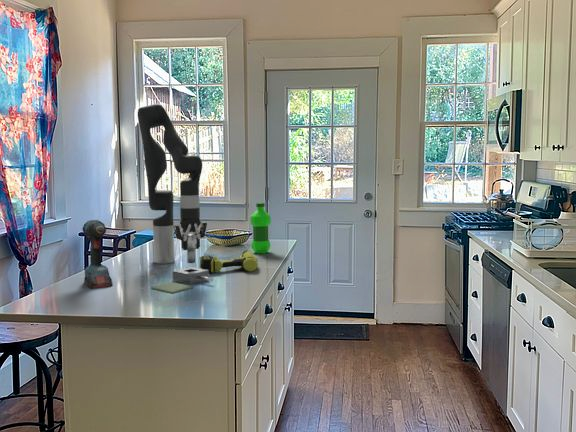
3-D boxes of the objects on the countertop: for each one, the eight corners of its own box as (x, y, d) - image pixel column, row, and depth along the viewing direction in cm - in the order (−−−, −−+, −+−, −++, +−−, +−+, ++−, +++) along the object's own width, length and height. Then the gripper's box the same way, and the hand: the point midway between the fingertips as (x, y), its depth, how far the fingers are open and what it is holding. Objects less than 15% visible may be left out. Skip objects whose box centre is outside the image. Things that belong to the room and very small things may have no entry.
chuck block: (172, 281, 227) (172, 271, 226) (191, 276, 234) (191, 266, 234) (202, 287, 216) (202, 276, 216) (221, 282, 224) (221, 272, 223)
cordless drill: (199, 262, 262) (253, 260, 267) (200, 276, 238) (259, 273, 242) (198, 247, 261) (253, 245, 266) (200, 259, 237) (259, 257, 241)
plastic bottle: (275, 251, 289) (274, 202, 286) (263, 255, 280) (262, 204, 278) (258, 250, 295) (258, 201, 292) (246, 253, 286) (245, 203, 283)
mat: (151, 288, 215) (151, 286, 215) (172, 283, 222) (171, 282, 222) (172, 293, 207) (172, 291, 207) (193, 288, 215) (193, 286, 215)
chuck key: (189, 264, 222) (188, 236, 221) (182, 261, 228) (181, 234, 227) (200, 263, 225) (199, 235, 224) (193, 260, 231) (192, 233, 230)
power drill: (91, 292, 210) (88, 224, 207) (82, 279, 230) (79, 217, 227) (115, 289, 214) (113, 222, 211) (104, 277, 234) (102, 216, 231)
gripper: (177, 208, 217) (178, 253, 219) (210, 206, 225) (211, 248, 228) (168, 206, 223) (170, 250, 225) (201, 204, 231) (202, 245, 233)
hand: (191, 249), depth 226 cm, fingers closed on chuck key, 4 cm apart
